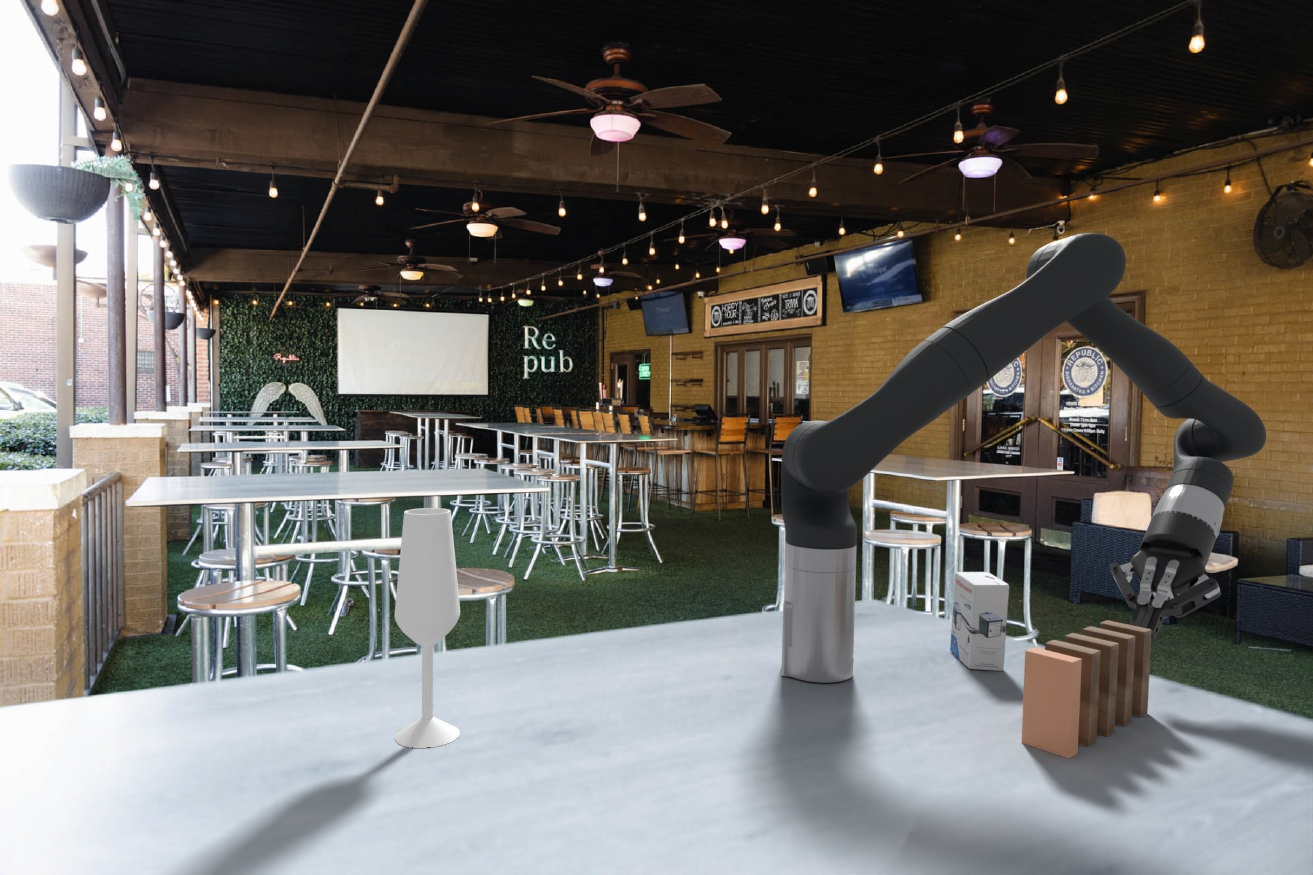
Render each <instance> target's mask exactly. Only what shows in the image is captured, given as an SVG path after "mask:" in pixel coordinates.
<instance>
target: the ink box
mask: <svg viewBox="0 0 1313 875" xmlns="http://www.w3.org/2000/svg"><path fill="white" fill-rule="evenodd" d="M1009 594H1010V586H1009V583H1007V582H1005V581H1004V580H1001V579H1000V578H999V577H997V576H995V575H994V574H992V573H991V572H988V571H954V581H953V598H952V599H953V600H952V617H951V620H952V621H951V630H950V632H951V634H950V652H951V653H953V655H954V656H955V657H957V659H958V660H960V662H962V663H963V665H965V667H966V668H968V669H969V670H981V671H982V670H983V671H1001V672H1002V671H1004V669H1005V668H1004V667H1005V653H1006V652H1005V651H1006V639H1007V637H1006V636H1007V634H1006V633H1007V623H1008V622H1007V621H1008V607H1009Z"/></svg>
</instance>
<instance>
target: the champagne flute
mask: <svg viewBox="0 0 1313 875" xmlns="http://www.w3.org/2000/svg"><path fill="white" fill-rule="evenodd" d="M453 529H454V528H453V522H452V511H451V509H447V508H441V507H440V508H438V507H429V508H428V507H426V508H425V507H424V508H423V507H422V508H412V509H407V510H404V512H403V522H402V532H401V543H400V553H399V563H398V573H397V583H396V584H397V585H396V596H395V605H394V606H395V607H394V620H395V623H396V625H397V626H398V627H399V629H400V630H401V631H402V633H404V634H405V635H406V637H408V638H409V639H410V640H412V641H413V642H414V643H415V644H417V645H419V646H421V717H420V718H419V719H418V720H415V721H414V722H413V723H412V724H410V725H408V726H407V727H405V728H403V729H402V730H400V731H399V732H398V733H396V735H395V737H394V739H395V742H396V743H397V744H399V745H400V746H403V747H406V748H410V749H411V748H412V747H413V748H412V749H428V748H427V747H431V748H437V747H442V746H444V745H447V744H449V743H451V742H454V741H455V740H457V739H458V738H459V736H460V733H461V732H460V729H459V728H458V727H456V726H454V725H452V724H450V723H448V722H446V721H444V720H441V719H439V718H437V717H435V716H434V646H435V645H437V644H438V643H440V642H441V641H442V640H443V639H444V638H445V637H446V636H447V635H448V634H449V633H450V632H451V631H452V630H453V629H454V627H455V625H456V624H457V622H458V620H459V619H460V617H461V605H460V596H459V594H460V593H459V585H458V574H457V563H456V553H455V552H456V551H455V543H454V533H453V532H454V531H453Z"/></svg>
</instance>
